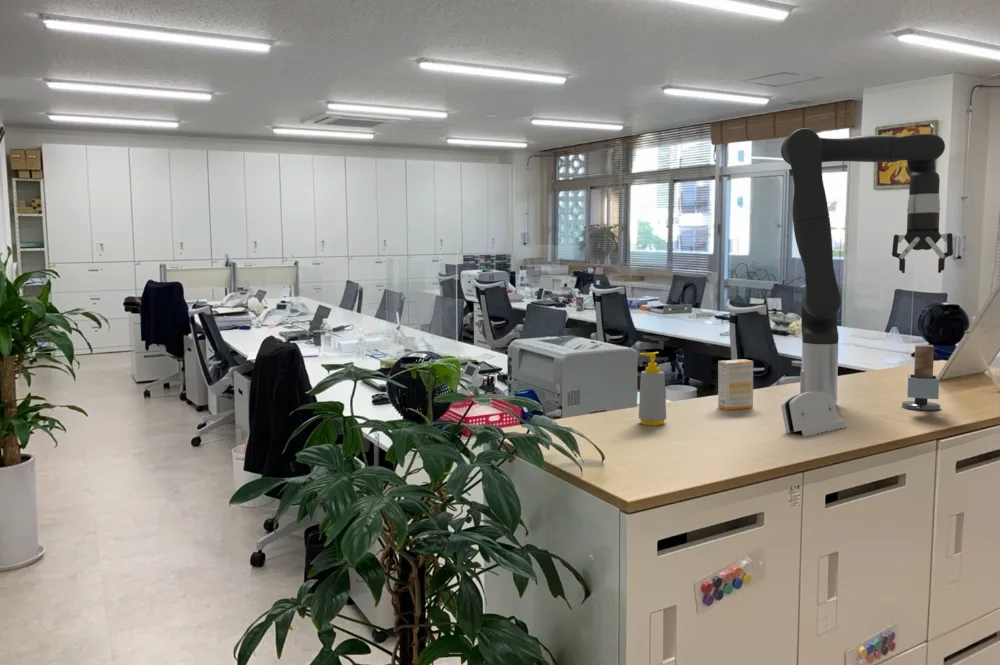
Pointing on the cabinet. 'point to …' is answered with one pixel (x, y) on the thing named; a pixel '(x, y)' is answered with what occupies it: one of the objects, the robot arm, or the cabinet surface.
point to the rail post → (924, 361)
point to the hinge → (811, 413)
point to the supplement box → (735, 384)
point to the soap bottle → (652, 394)
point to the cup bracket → (922, 393)
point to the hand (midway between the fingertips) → (921, 272)
